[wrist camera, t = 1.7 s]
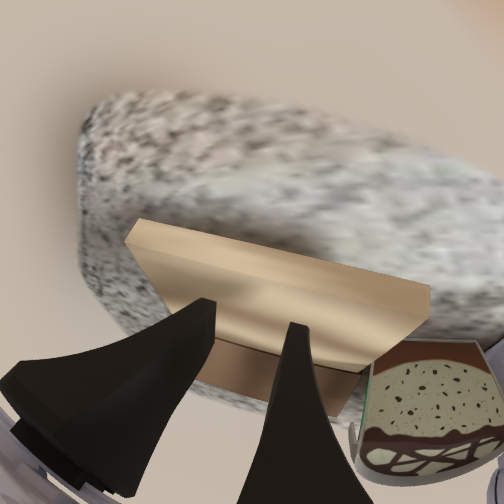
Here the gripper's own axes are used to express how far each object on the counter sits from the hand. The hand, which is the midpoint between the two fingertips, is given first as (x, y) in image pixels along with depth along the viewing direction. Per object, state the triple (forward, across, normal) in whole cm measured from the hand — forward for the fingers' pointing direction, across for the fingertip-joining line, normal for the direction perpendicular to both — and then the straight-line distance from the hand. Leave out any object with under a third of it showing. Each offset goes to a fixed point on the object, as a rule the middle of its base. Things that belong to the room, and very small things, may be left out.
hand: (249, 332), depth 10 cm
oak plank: (+6, 0, +3) cm, 7 cm away
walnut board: (+9, 0, +12) cm, 15 cm away
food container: (+10, -12, +8) cm, 18 cm away
